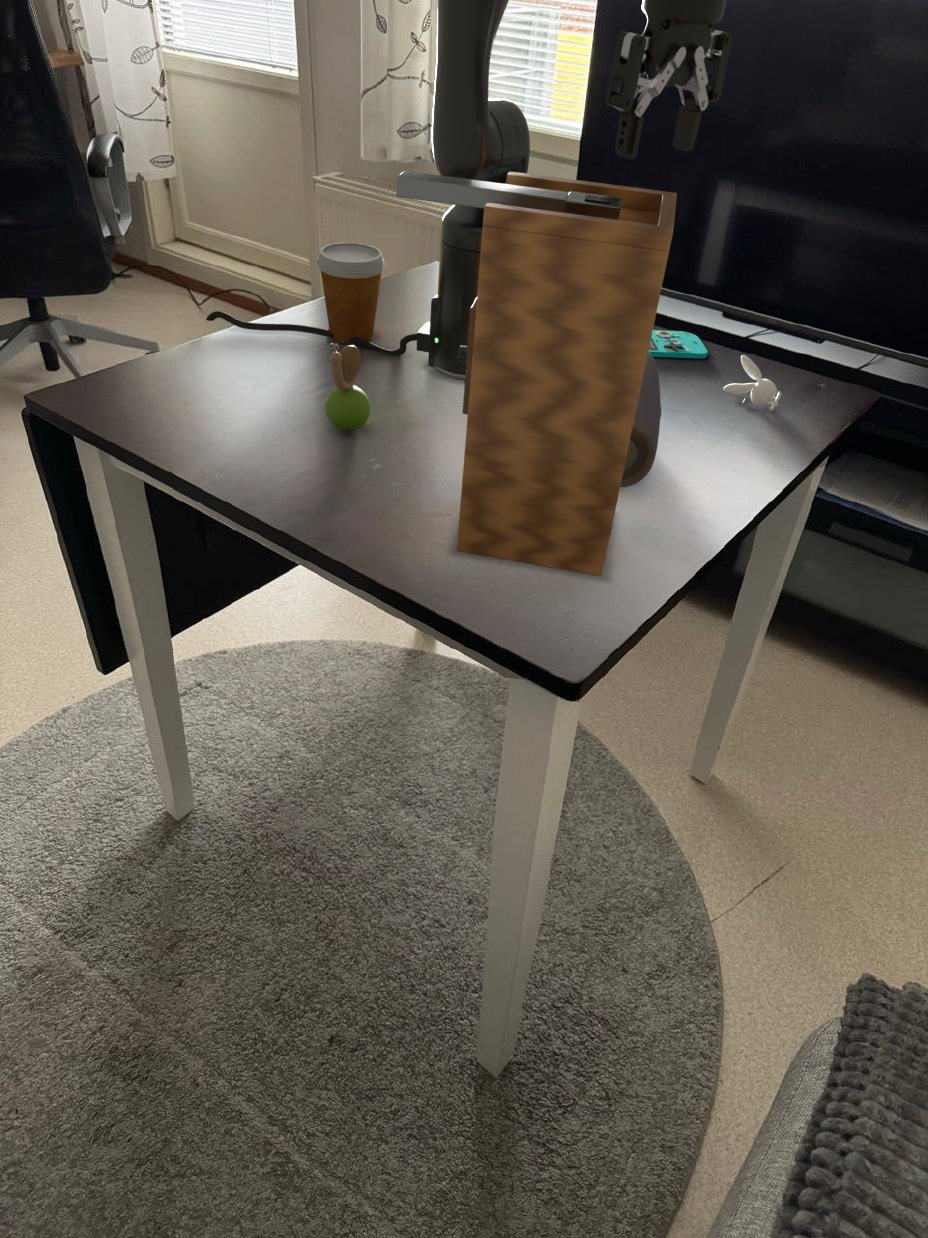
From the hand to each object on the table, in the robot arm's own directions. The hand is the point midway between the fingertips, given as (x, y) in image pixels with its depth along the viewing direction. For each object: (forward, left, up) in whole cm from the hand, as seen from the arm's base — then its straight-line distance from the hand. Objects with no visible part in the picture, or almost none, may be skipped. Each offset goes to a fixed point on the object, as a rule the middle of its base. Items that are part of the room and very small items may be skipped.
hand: (654, 153), depth 92 cm
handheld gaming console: (-4, +35, -33) cm, 49 cm away
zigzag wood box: (+1, -22, -33) cm, 40 cm away
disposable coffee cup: (-43, +11, -34) cm, 56 cm away
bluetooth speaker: (+2, 0, -34) cm, 34 cm away
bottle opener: (-5, -23, -1) cm, 24 cm away
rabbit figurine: (+13, +24, -34) cm, 43 cm away
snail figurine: (-28, -14, -34) cm, 46 cm away
